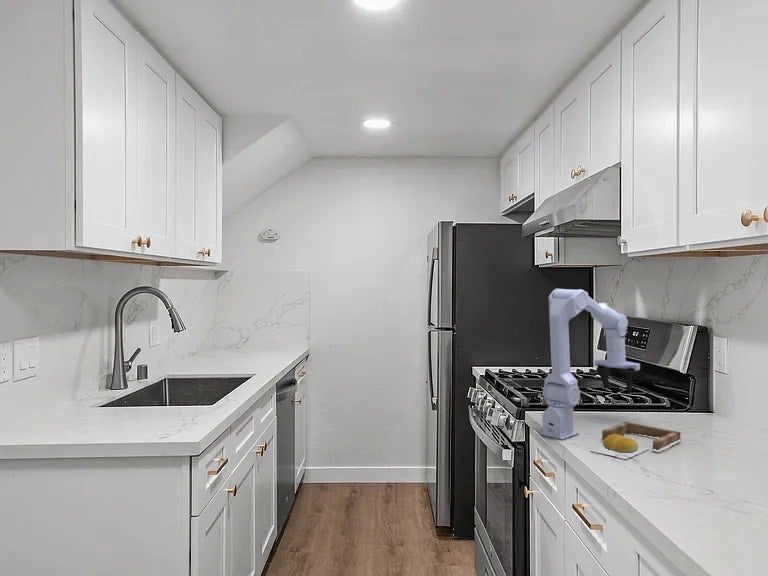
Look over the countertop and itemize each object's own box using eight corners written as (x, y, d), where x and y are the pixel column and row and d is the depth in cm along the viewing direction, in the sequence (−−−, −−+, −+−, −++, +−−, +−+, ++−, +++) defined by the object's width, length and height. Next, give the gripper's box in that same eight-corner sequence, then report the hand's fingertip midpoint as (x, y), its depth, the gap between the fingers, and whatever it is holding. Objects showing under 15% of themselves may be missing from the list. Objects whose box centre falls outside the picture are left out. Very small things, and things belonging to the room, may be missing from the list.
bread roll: (625, 456, 163) (626, 441, 162) (598, 448, 170) (598, 433, 170) (645, 451, 167) (645, 437, 167) (617, 443, 175) (617, 429, 174)
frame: (658, 453, 167) (658, 442, 167) (602, 440, 178) (602, 430, 178) (680, 442, 177) (680, 432, 177) (625, 431, 189) (625, 421, 189)
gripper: (643, 348, 198) (644, 389, 200) (600, 344, 209) (602, 383, 210) (634, 352, 193) (636, 394, 195) (590, 349, 204) (592, 388, 205)
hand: (617, 389), depth 202 cm, fingers open, 7 cm apart
